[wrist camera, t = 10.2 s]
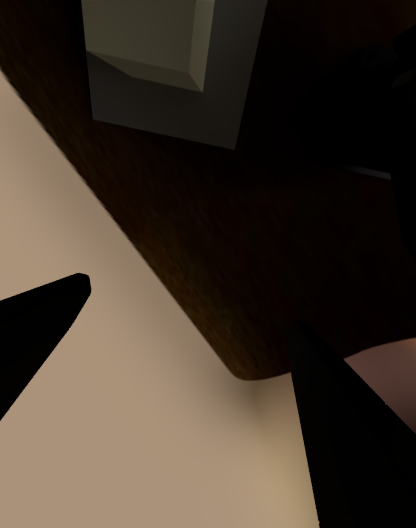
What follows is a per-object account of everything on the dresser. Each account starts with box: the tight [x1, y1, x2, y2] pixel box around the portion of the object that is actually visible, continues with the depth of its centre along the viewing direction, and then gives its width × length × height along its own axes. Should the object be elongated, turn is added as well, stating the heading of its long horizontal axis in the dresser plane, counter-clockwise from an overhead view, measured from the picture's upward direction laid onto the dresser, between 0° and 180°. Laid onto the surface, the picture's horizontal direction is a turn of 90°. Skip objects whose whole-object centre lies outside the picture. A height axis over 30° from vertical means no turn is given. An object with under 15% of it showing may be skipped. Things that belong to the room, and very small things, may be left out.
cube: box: [81, 0, 215, 92], centre depth 11 cm, size 5×5×5 cm
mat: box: [81, 0, 267, 150], centre depth 13 cm, size 11×11×1 cm
